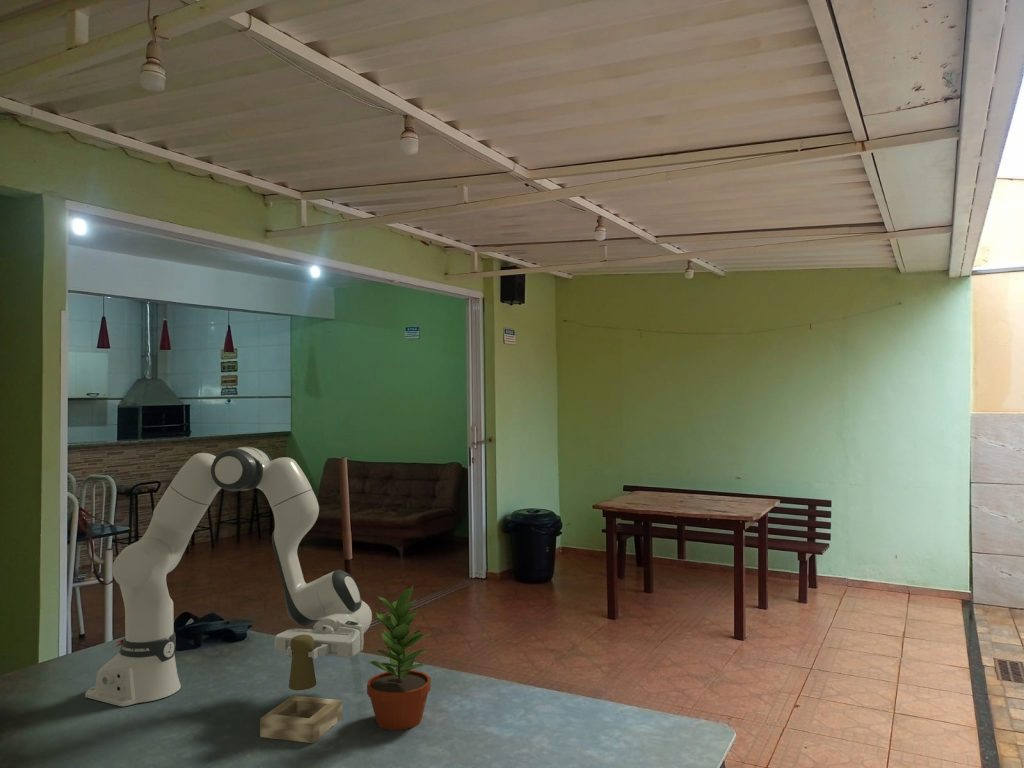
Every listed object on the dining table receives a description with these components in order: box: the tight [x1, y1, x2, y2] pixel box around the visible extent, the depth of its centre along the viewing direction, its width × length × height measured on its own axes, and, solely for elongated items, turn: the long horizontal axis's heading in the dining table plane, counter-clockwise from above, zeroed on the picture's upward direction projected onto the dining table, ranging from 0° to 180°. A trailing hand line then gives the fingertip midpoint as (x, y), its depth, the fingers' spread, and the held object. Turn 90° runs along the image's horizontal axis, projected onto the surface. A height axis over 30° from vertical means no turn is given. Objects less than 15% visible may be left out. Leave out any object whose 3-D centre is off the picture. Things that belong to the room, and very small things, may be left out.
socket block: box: [259, 694, 344, 744], centre depth 166 cm, size 13×13×4 cm
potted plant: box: [366, 585, 432, 731], centre depth 169 cm, size 15×15×30 cm
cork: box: [288, 635, 317, 691], centre depth 166 cm, size 6×6×11 cm
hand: (300, 654), depth 165 cm, fingers closed on cork, 4 cm apart
